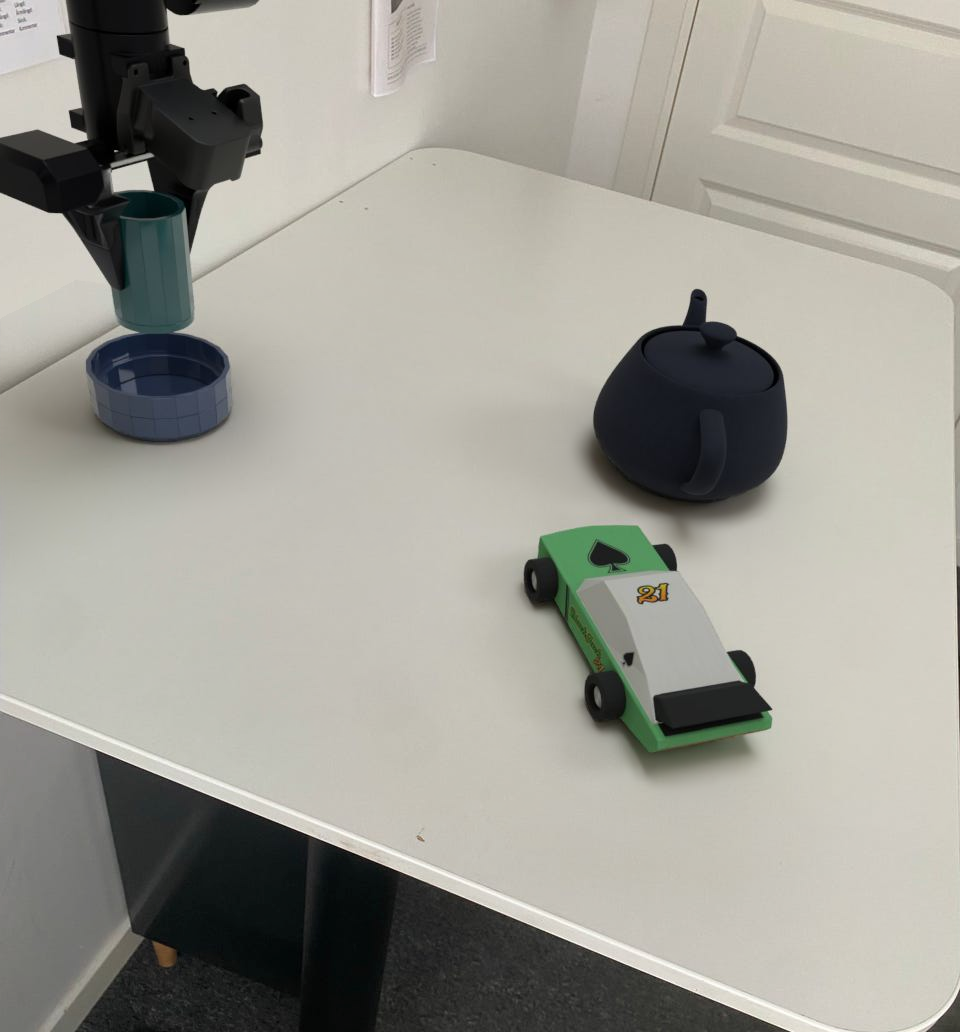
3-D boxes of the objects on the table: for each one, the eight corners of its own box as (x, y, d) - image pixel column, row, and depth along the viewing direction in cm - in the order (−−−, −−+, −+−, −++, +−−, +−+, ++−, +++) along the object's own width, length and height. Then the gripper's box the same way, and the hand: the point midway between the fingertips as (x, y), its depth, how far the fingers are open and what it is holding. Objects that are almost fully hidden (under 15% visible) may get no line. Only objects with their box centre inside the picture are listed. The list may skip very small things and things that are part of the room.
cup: (105, 328, 67) (86, 213, 62) (128, 295, 71) (112, 185, 66) (184, 338, 68) (172, 225, 62) (202, 304, 72) (193, 195, 66)
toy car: (642, 551, 70) (659, 495, 66) (777, 749, 57) (807, 693, 53) (511, 566, 66) (522, 509, 63) (624, 780, 54) (646, 723, 50)
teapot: (786, 566, 70) (850, 423, 62) (581, 533, 70) (617, 385, 62) (751, 401, 88) (796, 273, 80) (588, 375, 88) (617, 244, 80)
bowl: (75, 436, 71) (65, 388, 69) (117, 369, 79) (110, 324, 76) (216, 452, 72) (212, 406, 69) (244, 384, 80) (241, 340, 77)
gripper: (93, 79, 48) (133, 359, 59) (321, 36, 61) (320, 274, 71) (-53, 28, 52) (10, 302, 62) (191, -3, 64) (208, 230, 75)
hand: (149, 276), depth 68 cm, fingers closed on cup, 6 cm apart
